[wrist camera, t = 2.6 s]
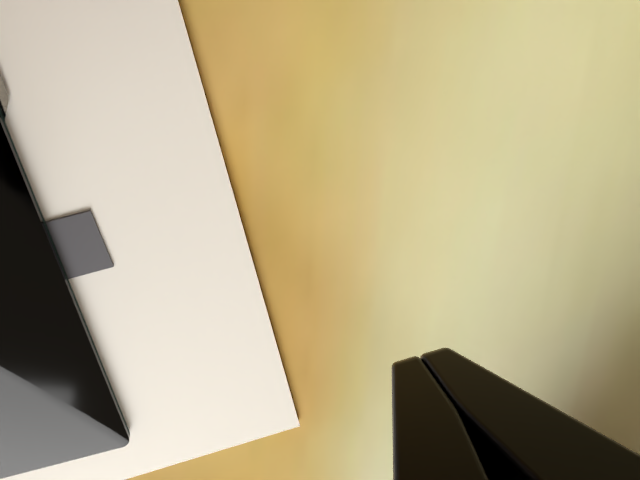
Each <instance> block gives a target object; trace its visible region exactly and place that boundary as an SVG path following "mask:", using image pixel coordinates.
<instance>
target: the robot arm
mask: <svg viewBox="0 0 640 480" xmlns="http://www.w3.org/2000/svg"><path fill="white" fill-rule="evenodd" d="M392 417H393V480H640V455H639V454H637V453H635V452H633V451H631V450H630V449H628V448H626V447H624V446H622V445H621V444H619V443H617V442H615V441H614V440H612V439H610V438H608V437H606V436H605V435H603V434H601V433H599V432H597V431H596V430H594V429H592V428H590V427H589V426H587V425H585V424H583V423H581V422H580V421H578V420H576V419H574V418H573V417H571V416H569V415H567V414H565V413H564V412H562V411H560V410H558V409H556V408H555V407H553V406H551V405H549V404H548V403H546V402H544V401H542V400H540V399H539V398H537V397H535V396H533V395H531V394H530V393H528V392H526V391H524V390H523V389H521V388H519V387H517V386H515V385H514V384H512V383H510V382H508V381H506V380H505V379H503V378H501V377H499V376H498V375H496V374H494V373H492V372H490V371H489V370H487V369H485V368H483V367H481V366H480V365H478V364H476V363H474V362H473V361H471V360H469V359H467V358H465V357H464V356H462V355H460V354H458V353H457V352H455V351H453V350H451V349H449V348H441V349H438V350H434V351H431V352H428V353H424V354H423V355H422V356H421V357H420V358H419V357H416V356H415V357H411V358H407V359H404V360H401V361H397V362H395V363H393V365H392Z"/></svg>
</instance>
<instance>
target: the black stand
mask: <svg viewBox="0 0 640 480" xmlns="http://www.w3.org/2000/svg"><path fill="white" fill-rule="evenodd" d="M8 104H9V95H8V92H7V89H6V87H5V84H4V82H3V79H2V77H1V74H0V479H2V478H6V477H10V476H14V475H18V474H22V473H25V472H29V471H33V470H37V469H41V468H45V467H49V466H52V465H56V464H60V463H64V462H68V461H72V460H75V459H79V458H83V457H87V456H91V455H95V454H99V453H102V452H106V451H110V450H114V449H118V448H122V447H125V446H126V445H127V444H128V443H129V439H130V430H129V428H128V425H127V423H126V420H125V418H124V415H123V413H122V410H121V408H120V405H119V403H118V400H117V398H116V395H115V393H114V390H113V388H112V385H111V383H110V380H109V378H108V375H107V373H106V371H105V368H104V366H103V363H102V361H101V358H100V356H99V353H98V351H97V348H96V346H95V343H94V341H93V338H92V336H91V333H90V331H89V328H88V326H87V323H86V321H85V318H84V316H83V313H82V311H81V308H80V306H79V303H78V301H77V298H76V296H75V293H74V291H73V288H72V286H71V283H70V281H69V279H68V276H67V274H66V271H65V269H64V266H63V264H62V261H61V259H60V256H59V254H58V251H57V249H56V246H55V244H54V241H53V239H52V236H51V234H50V231H49V229H48V226H47V224H46V221H45V219H44V216H43V214H42V211H41V209H40V206H39V204H38V201H37V199H36V196H35V194H34V191H33V189H32V186H31V184H30V181H29V179H28V176H27V174H26V172H25V169H24V167H23V164H22V162H21V159H20V157H19V154H18V152H17V149H16V147H15V144H14V142H13V139H12V137H11V134H10V132H9V129H8V127H7V124H6V121H5V118H6V114H7V109H8Z"/></svg>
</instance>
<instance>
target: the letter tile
mask: <svg viewBox="0 0 640 480" xmlns="http://www.w3.org/2000/svg"><path fill="white" fill-rule="evenodd" d="M0 74H1V77H2V79H3V82H4V84H5V87H6V89H7V92H8V95H9V104H8V109H7V114H6V118H5V121H6V124H7V127H8V129H9V132H10V134H11V137H12V139H13V142H14V144H15V147H16V149H17V152H18V154H19V157H20V159H21V162H22V164H23V167H24V169H25V172H26V174H27V176H28V179H29V181H30V184H31V186H32V189H33V191H34V194H35V196H36V199H37V201H38V204H39V206H40V209H41V211H42V214H43V216H44V219H45V221H46V224H47V226H48V229H49V231H50V234H51V236H52V239H53V241H54V244H55V246H56V249H57V251H58V254H59V256H60V259H61V261H62V264H63V266H64V269H65V271H66V274H67V276H68V279H69V281H70V283H71V286H72V288H73V291H74V293H75V296H76V298H77V301H78V303H79V306H80V308H81V311H82V313H83V316H84V318H85V321H86V323H87V326H88V328H89V331H90V333H91V336H92V338H93V341H94V343H95V346H96V348H97V351H98V353H99V356H100V358H101V361H102V363H103V366H104V368H105V371H106V373H107V375H108V378H109V380H110V383H111V385H112V388H113V390H114V393H115V395H116V398H117V400H118V403H119V405H120V408H121V410H122V413H123V415H124V418H125V420H126V423H127V425H128V428H129V430H130V439H129V443H128V444H127V445H126V446H125V447H122V448H118V449H114V450H110V451H106V452H102V453H99V454H95V455H91V456H87V457H83V458H79V459H75V460H72V461H68V462H64V463H60V464H56V465H52V466H49V467H45V468H41V469H37V470H33V471H29V472H25V473H22V474H18V475H14V476H10V477H6V478H2V479H0V480H125V479H128V478H132V477H135V476H138V475H141V474H145V473H148V472H151V471H155V470H158V469H161V468H164V467H168V466H171V465H174V464H177V463H181V462H184V461H187V460H191V459H194V458H197V457H200V456H204V455H207V454H210V453H213V452H217V451H220V450H223V449H227V448H230V447H233V446H236V445H240V444H243V443H246V442H249V441H253V440H256V439H259V438H263V437H266V436H269V435H272V434H276V433H279V432H282V431H285V430H289V429H292V428H295V427H299V426H300V424H299V421H298V417H297V414H296V410H295V407H294V403H293V400H292V396H291V393H290V389H289V386H288V382H287V379H286V375H285V372H284V368H283V365H282V361H281V358H280V354H279V351H278V347H277V344H276V340H275V337H274V333H273V330H272V326H271V323H270V319H269V316H268V312H267V309H266V305H265V302H264V298H263V295H262V291H261V288H260V284H259V281H258V277H257V274H256V270H255V267H254V264H253V260H252V257H251V253H250V250H249V246H248V243H247V239H246V236H245V232H244V229H243V225H242V222H241V218H240V215H239V211H238V208H237V204H236V201H235V197H234V194H233V190H232V187H231V183H230V180H229V176H228V173H227V169H226V166H225V162H224V159H223V155H222V152H221V148H220V145H219V141H218V138H217V134H216V131H215V127H214V124H213V120H212V117H211V113H210V110H209V107H208V103H207V100H206V96H205V93H204V89H203V86H202V82H201V79H200V75H199V72H198V68H197V65H196V61H195V58H194V54H193V51H192V47H191V44H190V40H189V37H188V33H187V30H186V26H185V23H184V19H183V16H182V12H181V9H180V5H179V2H178V0H0Z"/></svg>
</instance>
